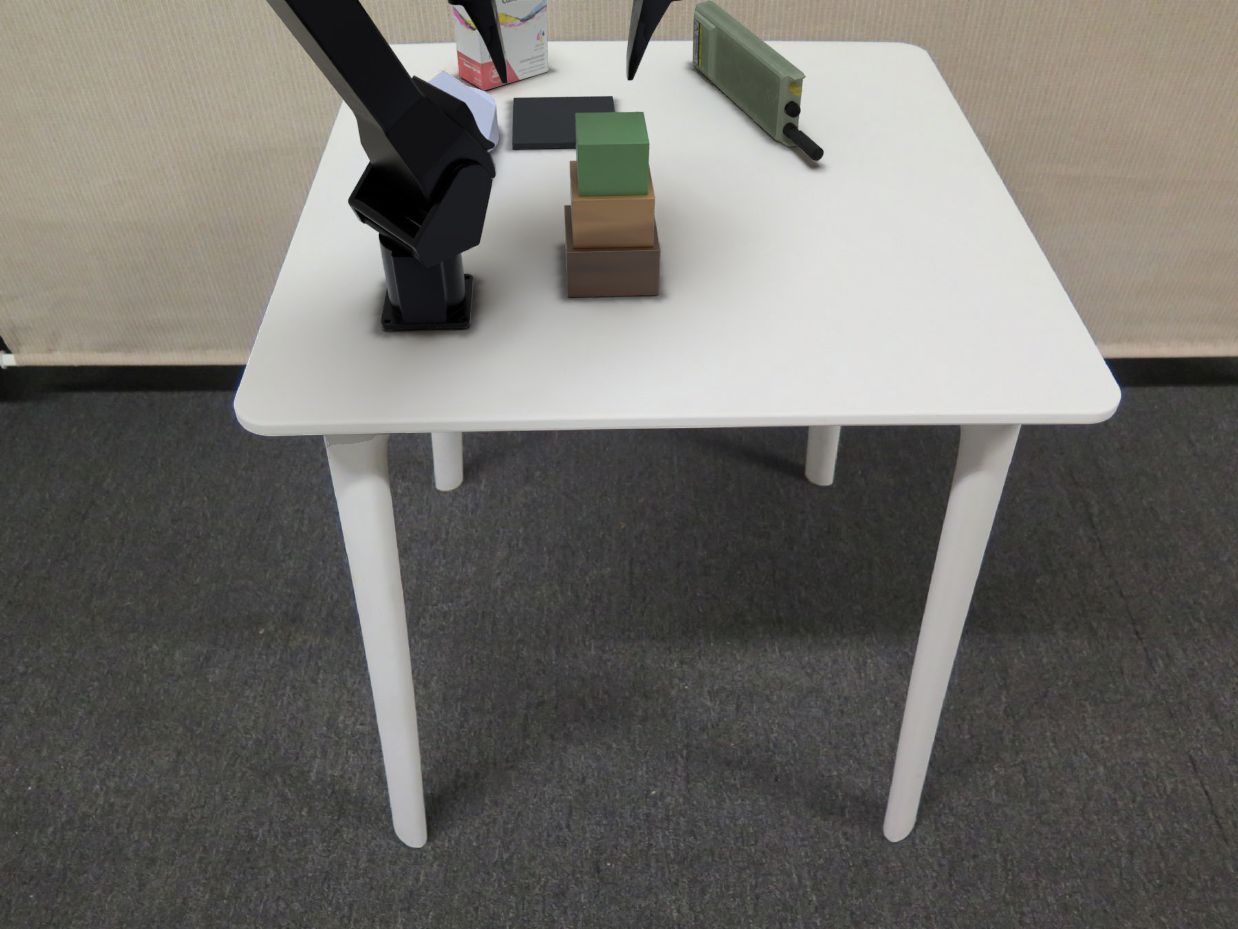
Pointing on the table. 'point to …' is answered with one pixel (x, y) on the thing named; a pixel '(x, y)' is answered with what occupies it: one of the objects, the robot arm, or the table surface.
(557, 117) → the mat
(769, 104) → the handheld radio
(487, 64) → the ink cartridge box
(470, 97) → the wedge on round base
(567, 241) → the walnut block
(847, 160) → the table surface
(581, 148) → the green block
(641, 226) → the oak block
